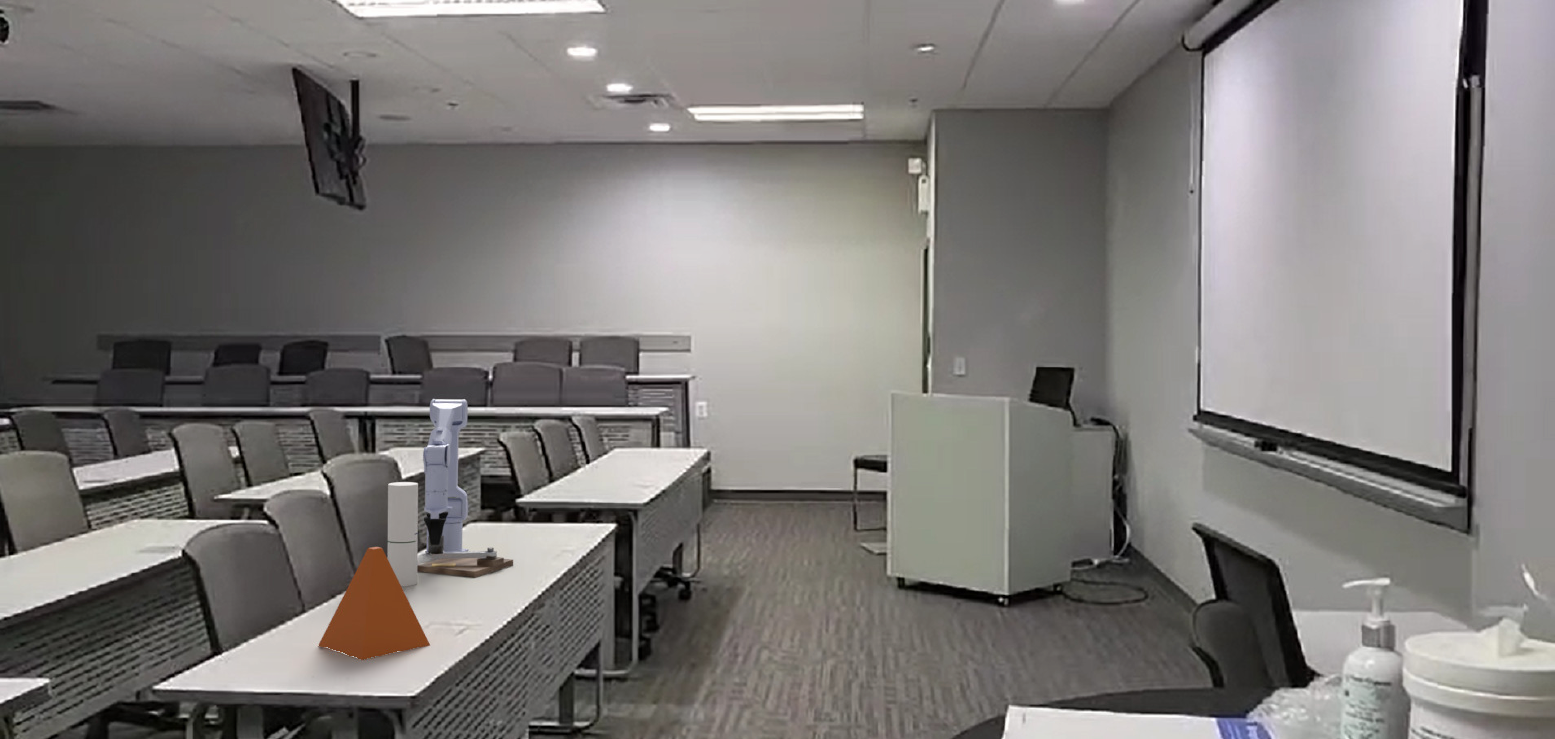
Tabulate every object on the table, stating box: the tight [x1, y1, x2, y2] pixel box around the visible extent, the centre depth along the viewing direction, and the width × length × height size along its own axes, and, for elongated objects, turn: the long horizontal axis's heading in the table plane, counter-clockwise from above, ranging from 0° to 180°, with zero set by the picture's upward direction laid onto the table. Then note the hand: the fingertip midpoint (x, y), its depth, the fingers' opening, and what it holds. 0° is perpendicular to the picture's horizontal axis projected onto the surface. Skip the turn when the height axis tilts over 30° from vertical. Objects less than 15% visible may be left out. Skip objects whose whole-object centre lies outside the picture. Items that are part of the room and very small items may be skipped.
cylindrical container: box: [387, 481, 419, 587], centre depth 311 cm, size 7×7×25 cm
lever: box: [427, 535, 498, 560], centre depth 329 cm, size 18×4×6 cm, turn 102°
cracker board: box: [417, 556, 514, 578], centre depth 332 cm, size 18×18×3 cm
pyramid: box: [318, 546, 431, 661], centre depth 252 cm, size 16×16×20 cm
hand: (436, 542), depth 328 cm, fingers open, 7 cm apart
